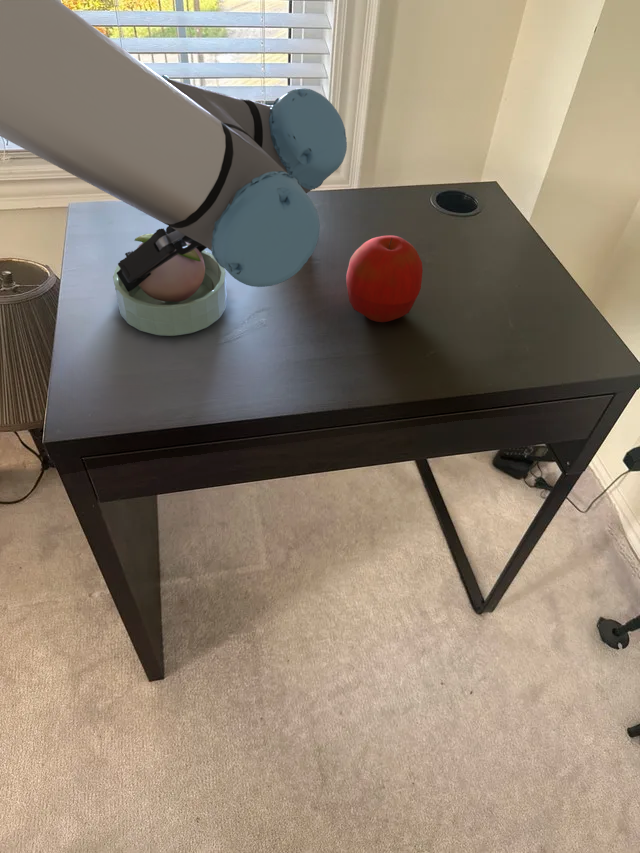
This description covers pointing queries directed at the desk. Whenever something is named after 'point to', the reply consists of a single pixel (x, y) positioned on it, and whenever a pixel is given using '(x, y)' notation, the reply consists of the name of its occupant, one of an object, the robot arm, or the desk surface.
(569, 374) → the desk surface
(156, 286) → the decorative fruit
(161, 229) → the robot arm
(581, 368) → the desk surface
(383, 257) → the apple
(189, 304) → the bowl
